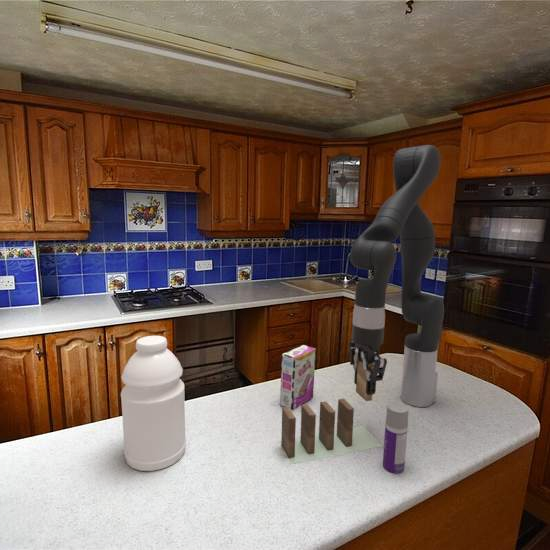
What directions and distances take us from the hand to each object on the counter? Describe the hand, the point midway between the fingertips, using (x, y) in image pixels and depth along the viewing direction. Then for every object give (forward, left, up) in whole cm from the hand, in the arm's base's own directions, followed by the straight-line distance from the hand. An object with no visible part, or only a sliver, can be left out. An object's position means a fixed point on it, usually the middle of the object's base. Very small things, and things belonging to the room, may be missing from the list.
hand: (364, 388), depth 93 cm
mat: (+9, 0, -14) cm, 16 cm away
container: (-1, +12, -14) cm, 18 cm away
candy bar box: (+9, -22, -14) cm, 28 cm away
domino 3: (+10, 0, -13) cm, 17 cm away
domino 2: (+15, 0, -13) cm, 20 cm away
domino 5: (0, 0, -2) cm, 2 cm away
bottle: (+50, -9, -14) cm, 53 cm away
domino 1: (+20, 0, -13) cm, 24 cm away
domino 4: (+5, 0, -13) cm, 14 cm away
